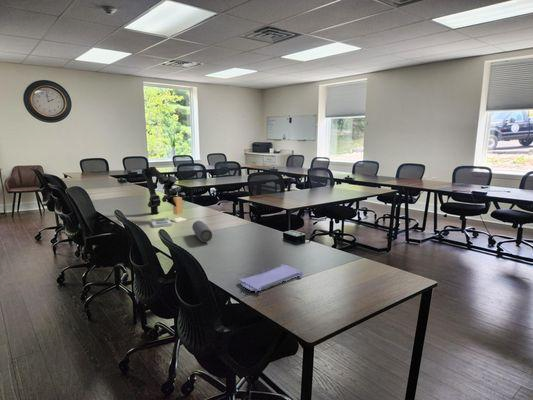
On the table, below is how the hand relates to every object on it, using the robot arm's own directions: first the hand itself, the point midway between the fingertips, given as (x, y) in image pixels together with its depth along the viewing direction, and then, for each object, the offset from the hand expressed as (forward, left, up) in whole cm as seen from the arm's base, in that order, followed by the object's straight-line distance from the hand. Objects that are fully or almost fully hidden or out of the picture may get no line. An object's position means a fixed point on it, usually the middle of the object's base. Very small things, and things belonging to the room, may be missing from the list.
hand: (178, 205), depth 260 cm
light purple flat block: (+104, +76, -13) cm, 130 cm away
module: (-1, -1, -7) cm, 7 cm away
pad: (-1, -1, -12) cm, 12 cm away
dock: (+10, -11, -12) cm, 19 cm away
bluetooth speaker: (+44, +29, -12) cm, 54 cm away
